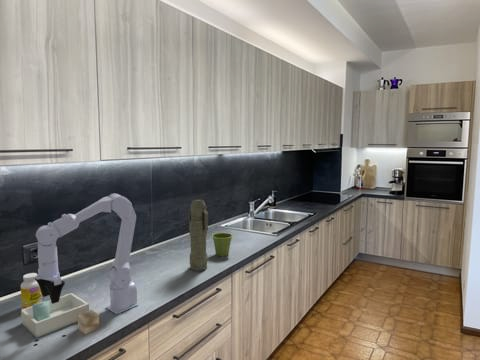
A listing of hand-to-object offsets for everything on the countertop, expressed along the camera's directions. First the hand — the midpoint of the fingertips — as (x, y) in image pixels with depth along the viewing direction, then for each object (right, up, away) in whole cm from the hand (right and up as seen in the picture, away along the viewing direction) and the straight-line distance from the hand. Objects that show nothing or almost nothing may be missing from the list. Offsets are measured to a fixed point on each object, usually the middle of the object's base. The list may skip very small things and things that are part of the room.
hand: (50, 299), depth 117 cm
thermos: (+44, -4, +56) cm, 71 cm away
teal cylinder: (-4, -9, +1) cm, 10 cm away
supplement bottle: (-15, -8, +14) cm, 22 cm away
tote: (-1, -9, +5) cm, 10 cm away
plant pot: (+55, -2, +76) cm, 94 cm away
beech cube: (+13, -10, 0) cm, 17 cm away
